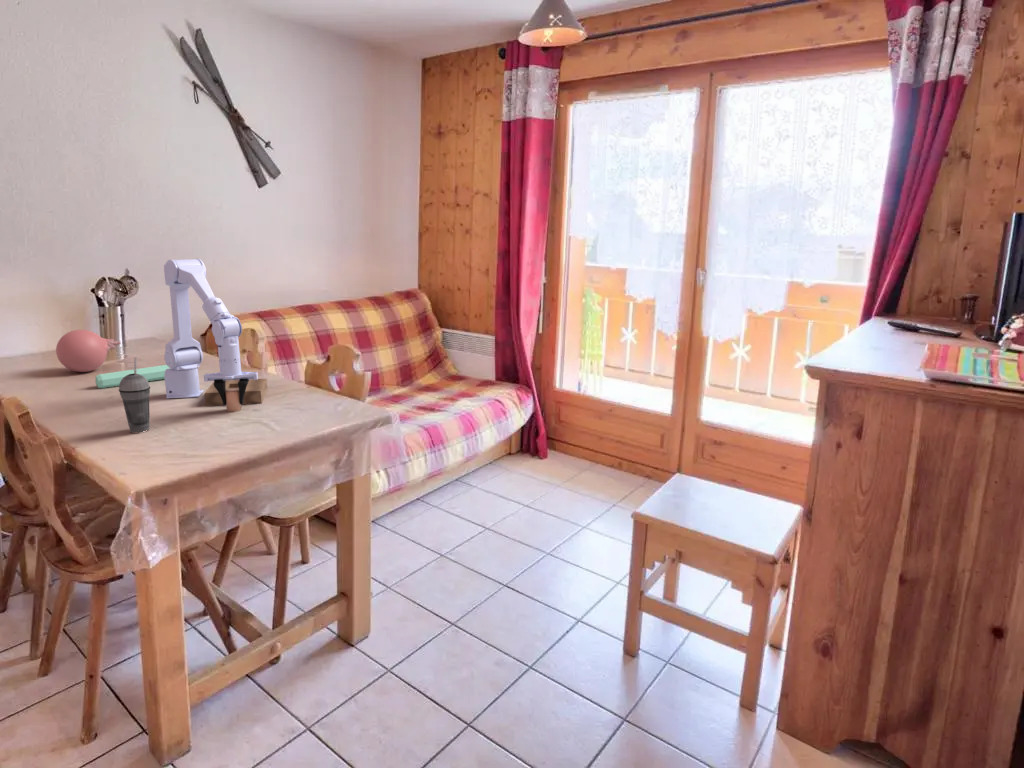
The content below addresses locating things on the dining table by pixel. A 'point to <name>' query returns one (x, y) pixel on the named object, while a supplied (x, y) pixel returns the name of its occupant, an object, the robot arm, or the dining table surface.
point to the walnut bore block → (252, 393)
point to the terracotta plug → (233, 400)
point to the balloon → (83, 350)
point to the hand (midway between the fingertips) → (233, 403)
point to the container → (116, 377)
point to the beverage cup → (136, 400)
